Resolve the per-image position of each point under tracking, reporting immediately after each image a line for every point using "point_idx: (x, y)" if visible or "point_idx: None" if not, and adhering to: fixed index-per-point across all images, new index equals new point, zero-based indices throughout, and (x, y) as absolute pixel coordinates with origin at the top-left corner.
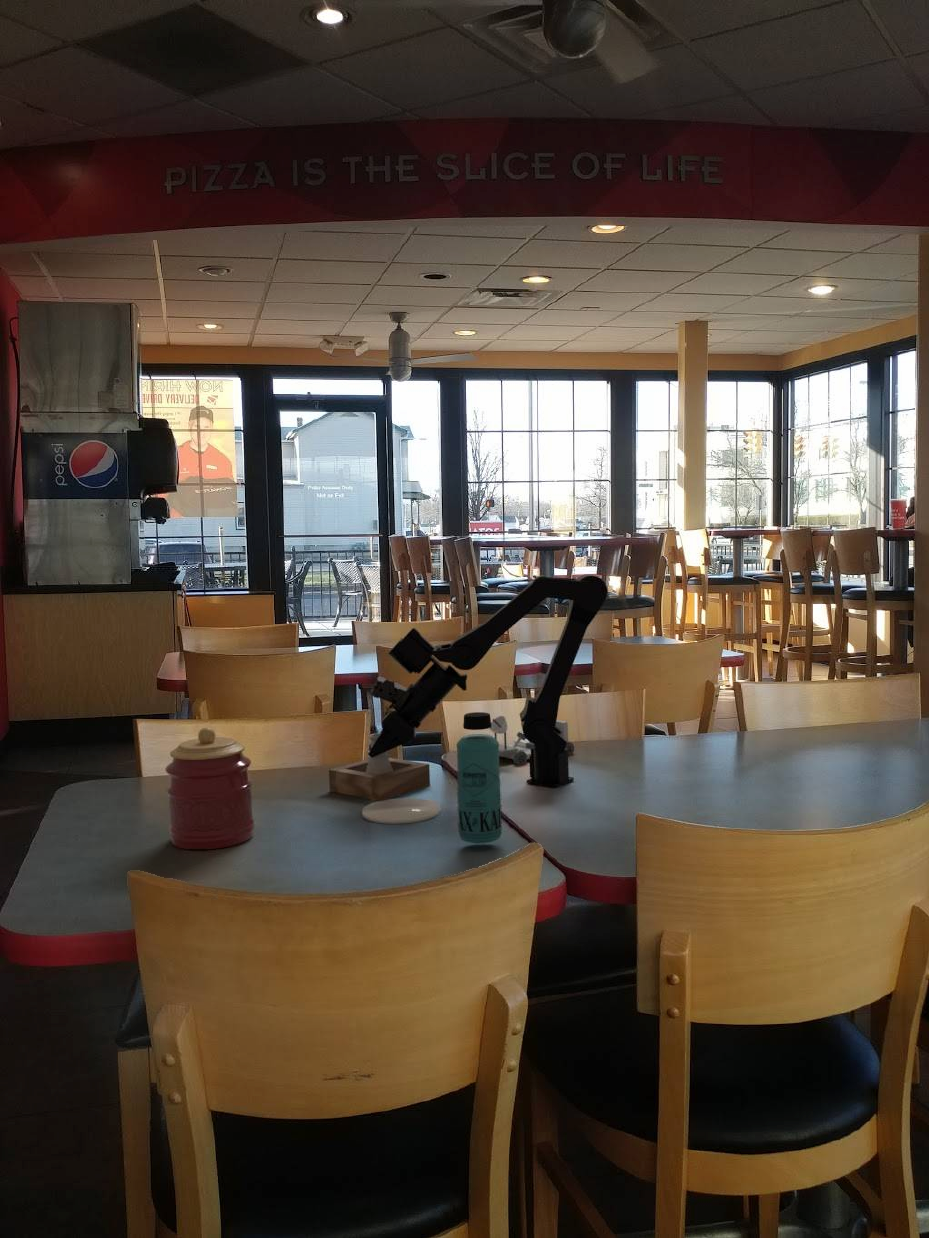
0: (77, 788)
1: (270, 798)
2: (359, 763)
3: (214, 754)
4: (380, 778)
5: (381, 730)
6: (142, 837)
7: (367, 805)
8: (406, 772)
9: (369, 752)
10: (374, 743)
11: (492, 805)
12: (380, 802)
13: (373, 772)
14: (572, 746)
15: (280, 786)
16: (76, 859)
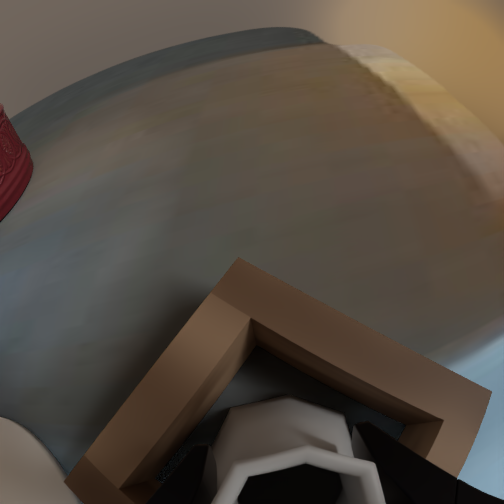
0: (272, 28)
1: (185, 177)
2: (362, 358)
3: None
4: (69, 487)
5: (459, 501)
6: (41, 130)
7: (24, 433)
8: None
9: (189, 454)
10: (147, 501)
11: None
12: (44, 470)
13: (222, 459)
14: None
15: (301, 164)
16: None
